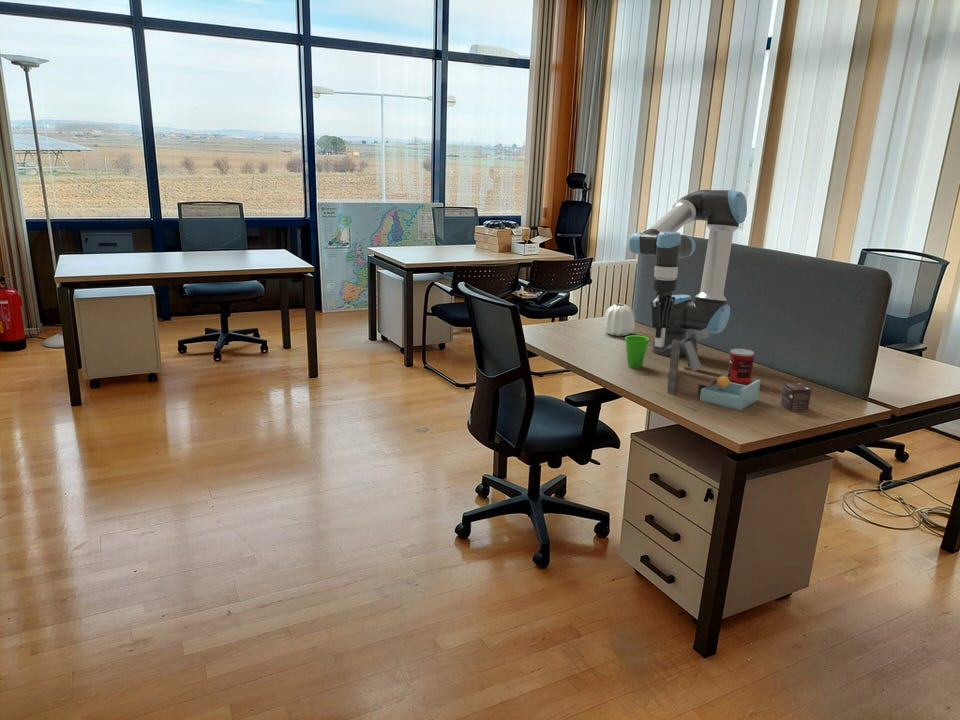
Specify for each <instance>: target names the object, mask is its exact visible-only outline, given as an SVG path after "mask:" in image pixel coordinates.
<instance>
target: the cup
mask: <svg viewBox="0 0 960 720" xmlns="http://www.w3.org/2000/svg"><path fill="white" fill-rule="evenodd" d="M624 340H625V346H626V355H627V357H626V358H627V365H628V367H629V368H632V369H640V368H642V367H643V365H644V360H645V356H646V351H647V347H648V343H649V341H650V338H649V337H648V336H643V335H638V334H635V335H633V334H632V335H631V334H629V335H625V337H624Z"/></svg>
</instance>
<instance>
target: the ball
mask: <svg viewBox="0 0 960 720" xmlns="http://www.w3.org/2000/svg"><path fill="white" fill-rule="evenodd" d="M729 383H730V381H729V379H728V376H725V375H722V376H721V377H719V378H718V379H717V385H718V386H719V387H720V388H727V387H728V386H729Z"/></svg>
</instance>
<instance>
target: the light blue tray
mask: <svg viewBox="0 0 960 720" xmlns="http://www.w3.org/2000/svg"><path fill="white" fill-rule="evenodd" d="M760 386H761V379H756V380H754V381H752V382H750V383H748V384H737V383H732V382H730V383H729V386H728V387H727V388H720V387H719V386H718V385H717V384H715V385H713V386H711V387H709V386H706V387H704V388H702V389H701V394H700V396H699V401H700V402H703V403H708V404H713V405H714V406H720V407H724V408H727V409H732V410H735V411H739V412H741V411H743V410H745V409H746V408H748V407H749V406H751V405H753V404H754V403H756V402H758V401H759V395H760V393H759V392H760Z"/></svg>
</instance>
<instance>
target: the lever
mask: <svg viewBox="0 0 960 720" xmlns="http://www.w3.org/2000/svg"><path fill="white" fill-rule="evenodd" d="M694 332H695V336H691V335H690V336H691V337H690V336H688V338H686V339H683V340H681V342H680V345H682V347H683V350H684V352H685V357H686V359H687V363H688V362H689V365H690V367H691V369H692V372H693V371H696V370H698V369H702V364H701V362H700V360H699V357H698V354H697V355H696V352H695V350H694V347H693V345H692V342H691V341H692V340H694V339H696V338H697V340H698V342H700V341H702V340H705V339H707V338H710V337H711V335H710V333H708V331H707V328H705V329H703V330H700V331H694ZM669 348H672V345H668V346H665V347H663V348H660V349H657V350H655V351H654V352H653V354H657V353H656V352H659V351H664V350H667V349H669Z"/></svg>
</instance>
